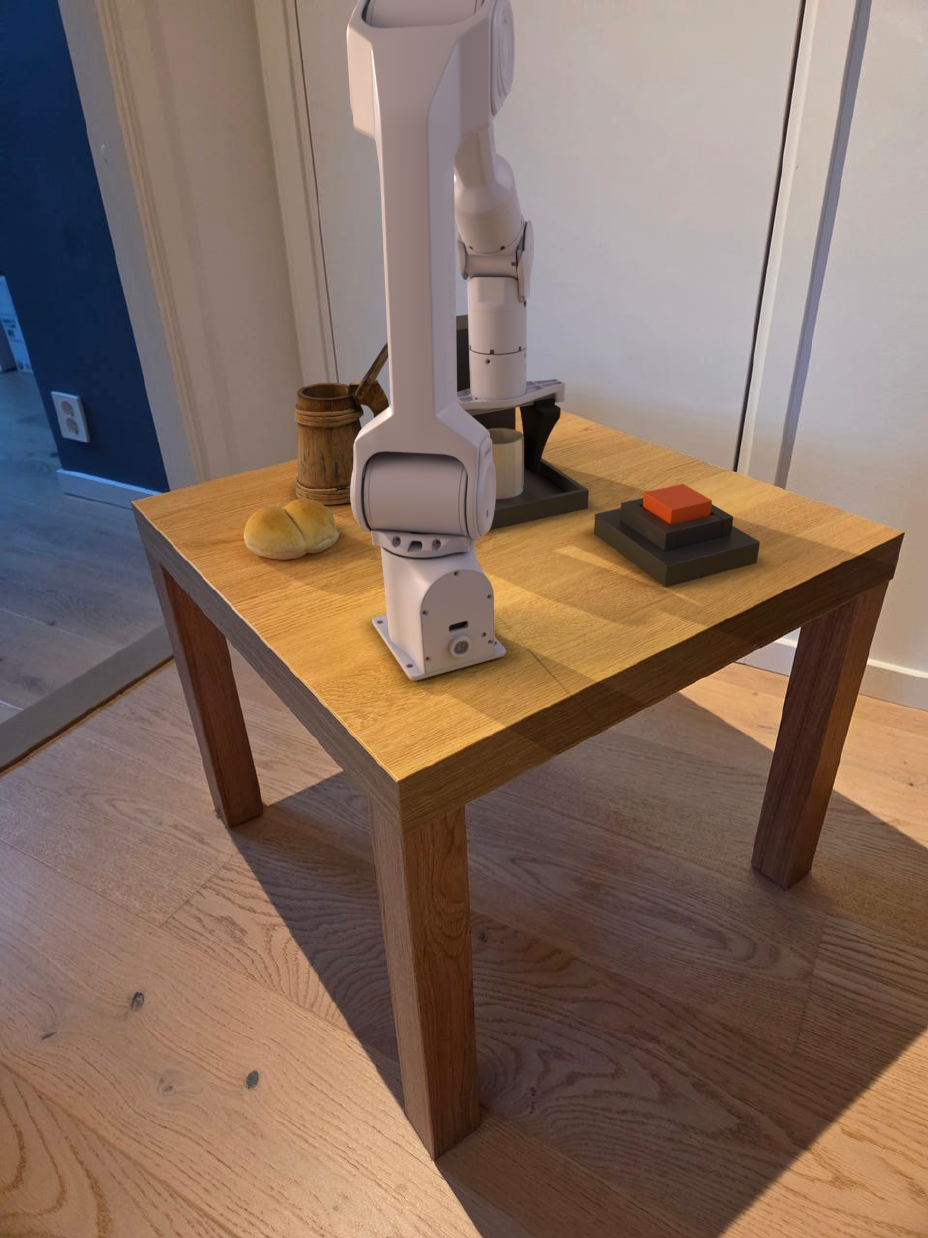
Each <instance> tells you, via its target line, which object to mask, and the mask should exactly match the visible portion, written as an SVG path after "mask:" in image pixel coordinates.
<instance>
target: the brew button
mask: <svg viewBox="0 0 928 1238" xmlns="http://www.w3.org/2000/svg"><path fill="white" fill-rule="evenodd" d="M643 498H644V499H643V508H644V509H645V510H647V511H649V512H650V513H652V514H653V515H655V516H656V517H658V518H659V519H661V520H662V521H664V522H665V523H667V524H668V525H673V524H678V523H682V522H686V521H690V520H694V519H698V518H702V517H707V516H710V512H711V505H712V504H713V500H712V499H710V498H709V497H707V496H705V495H704V494H702V493H700V492H698V491H697V490H695V489H693V488H691V487H690V486H688V485H686V484H684V483H680V484H676V485H672V486H666V487H662V488H658V489H654V490H649V491H644V492H643Z"/></svg>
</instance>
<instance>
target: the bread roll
mask: <svg viewBox="0 0 928 1238" xmlns="http://www.w3.org/2000/svg"><path fill="white" fill-rule="evenodd" d="M335 520H336V519H335V517H334V514H333V512H331V510H330V509H329V507H328V506H326V505H323V504H322V503H320V502H318V501H315V500H310V499H299V498H297V499H294V500H292V501H290V502H289V503H287V504H286V505H285V506H283V507H282V508H281V507H277V506H265V507H262V508H260V509H258V510H256V511H255V512H253V514H252V515H251V516H250V517H249V518H248V520H247V522H246V524H245V526H244V531H243V540H244V544H245V546H246V548H248V550H249V551H250V552H251V553H253V554H255V555H256V556H259V557H264V558H267V559H272V560H278V561H279V560H280V561H288V560H293V559H295V560H296V559H300V558H302V557H304V556H305V555H306V554H318V553H321V552H323V551H325V550H327V549H329V548H331V547H332V546H333V545H334V544H335V543H336V542H338V541H337V540H338V539H339V537H340V532H338V529H337V527H336V521H335Z"/></svg>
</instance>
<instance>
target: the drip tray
mask: <svg viewBox="0 0 928 1238" xmlns="http://www.w3.org/2000/svg"><path fill="white" fill-rule="evenodd" d="M589 492H590V491H589V489H588V488H587V487H585V486H583V485H582V484H580V483H579V482H577V481H576V480H575V479H573V478H571V477H570V476H569V475H568V474H566V473H564V472H563V471H562V470H560V469H559V468H558V467H556V466H555V465H553V464H551V463H550V462H548V461H547V460H545V459H544V458H542V457H541V461H540V465H539V469H538V472H536V473H532V472H530V471H529V470H528V469H526V468H525V467H524V485H523V491H522V493H521V494H519V495H518V496H515V497H512V498H508V499H496V501H495V510H494V516H493V521H492V525H491V528H490V530H489V531H495V530H497V529H501V528H502V529H503V528H507V527H511V526H515V525H516V526H517V525H519V524H524V523H530V522H533V521H538V520H544V519H546V518H551V517H555V516H560V515H565V514H568V513H574V512H578V511H582V510H587V509H589Z"/></svg>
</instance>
